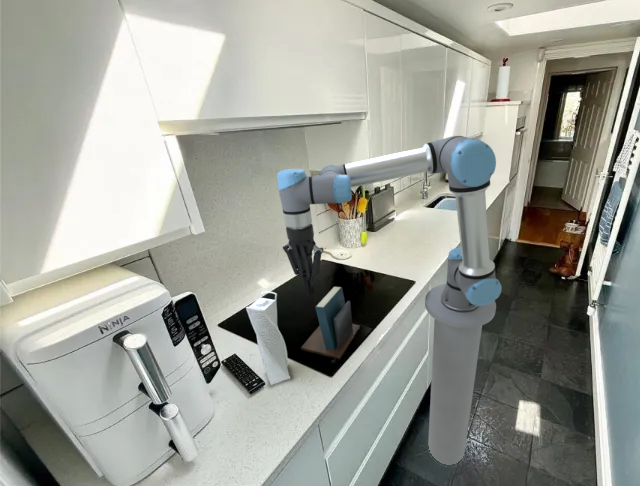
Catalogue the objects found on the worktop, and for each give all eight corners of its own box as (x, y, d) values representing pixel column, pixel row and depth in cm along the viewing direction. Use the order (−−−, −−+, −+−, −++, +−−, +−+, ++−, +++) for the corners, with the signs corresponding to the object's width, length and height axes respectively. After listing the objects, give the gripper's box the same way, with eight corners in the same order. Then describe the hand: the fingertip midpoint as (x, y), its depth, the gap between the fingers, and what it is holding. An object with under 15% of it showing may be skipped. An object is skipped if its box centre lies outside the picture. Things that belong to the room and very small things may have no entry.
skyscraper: (291, 362, 95) (274, 284, 83) (296, 379, 89) (278, 298, 77) (264, 371, 92) (242, 293, 80) (268, 389, 86) (244, 307, 74)
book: (350, 326, 108) (341, 286, 101) (333, 350, 97) (323, 307, 91) (342, 325, 109) (333, 286, 102) (325, 348, 99) (314, 306, 92)
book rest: (360, 327, 109) (357, 296, 103) (339, 359, 95) (335, 326, 90) (325, 320, 113) (321, 290, 108) (301, 349, 100) (294, 317, 94)
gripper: (325, 222, 89) (333, 291, 100) (287, 218, 93) (299, 285, 104) (311, 231, 83) (322, 304, 94) (271, 227, 87) (286, 297, 98)
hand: (310, 294), depth 99 cm, fingers closed
